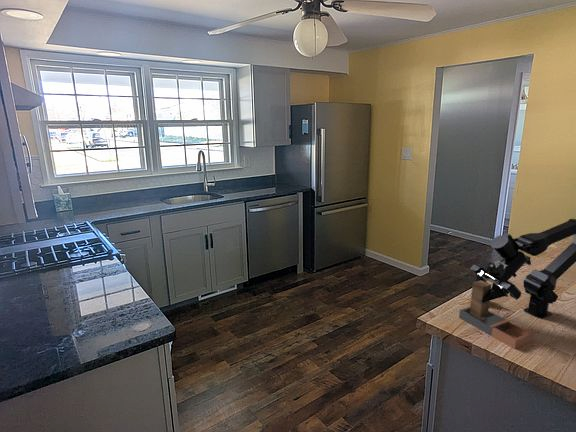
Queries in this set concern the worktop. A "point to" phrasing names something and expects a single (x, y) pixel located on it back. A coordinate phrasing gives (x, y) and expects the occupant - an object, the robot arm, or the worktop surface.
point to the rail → (498, 328)
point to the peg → (479, 299)
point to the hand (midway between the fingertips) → (477, 298)
